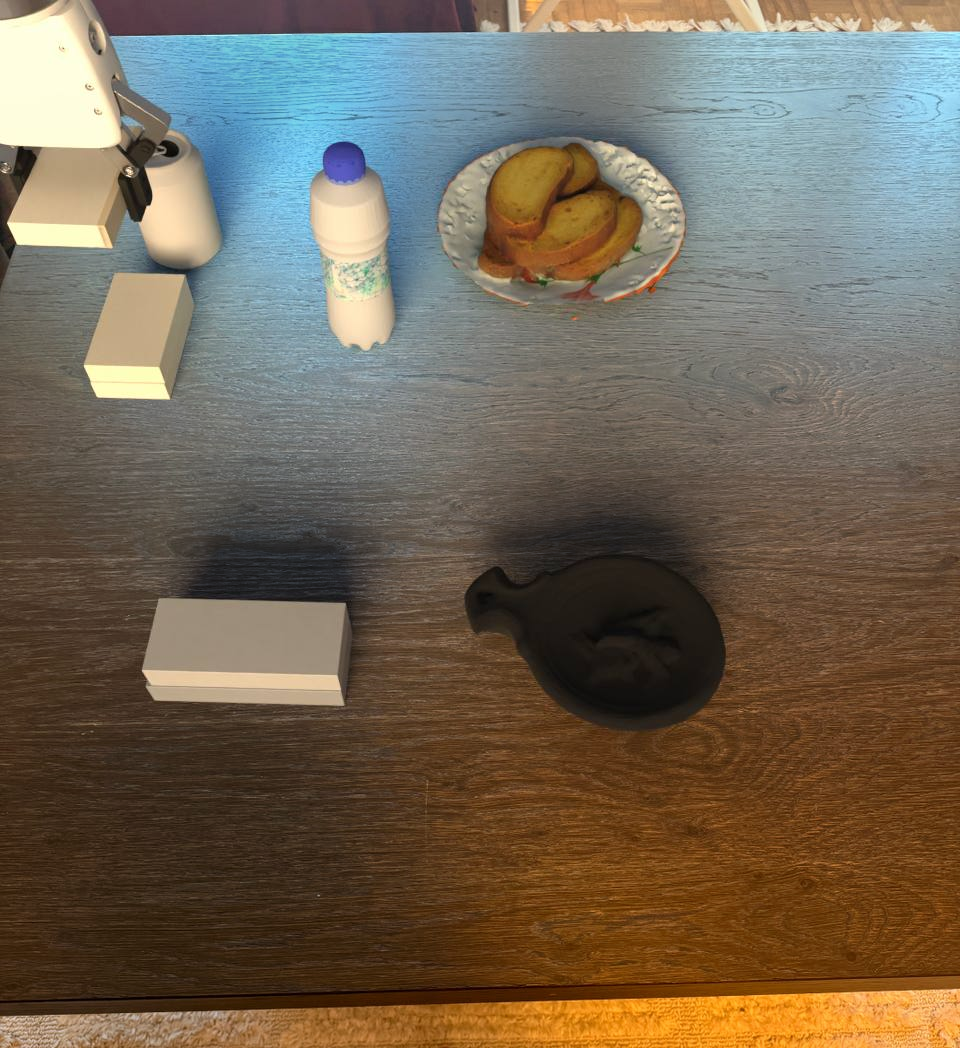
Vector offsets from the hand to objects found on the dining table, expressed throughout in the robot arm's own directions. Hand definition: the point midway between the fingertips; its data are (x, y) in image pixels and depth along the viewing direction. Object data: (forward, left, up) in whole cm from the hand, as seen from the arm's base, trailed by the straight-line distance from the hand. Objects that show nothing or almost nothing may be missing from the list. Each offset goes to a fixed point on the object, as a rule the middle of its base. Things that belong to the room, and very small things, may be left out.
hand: (91, 207), depth 75 cm
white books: (-1, +1, -17) cm, 17 cm away
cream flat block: (0, 0, +1) cm, 1 cm away
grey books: (+14, -31, -17) cm, 38 cm away
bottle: (+19, +4, -17) cm, 26 cm away
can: (0, +15, -17) cm, 23 cm away
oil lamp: (+39, -29, -17) cm, 52 cm away
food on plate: (+38, +19, -17) cm, 46 cm away
